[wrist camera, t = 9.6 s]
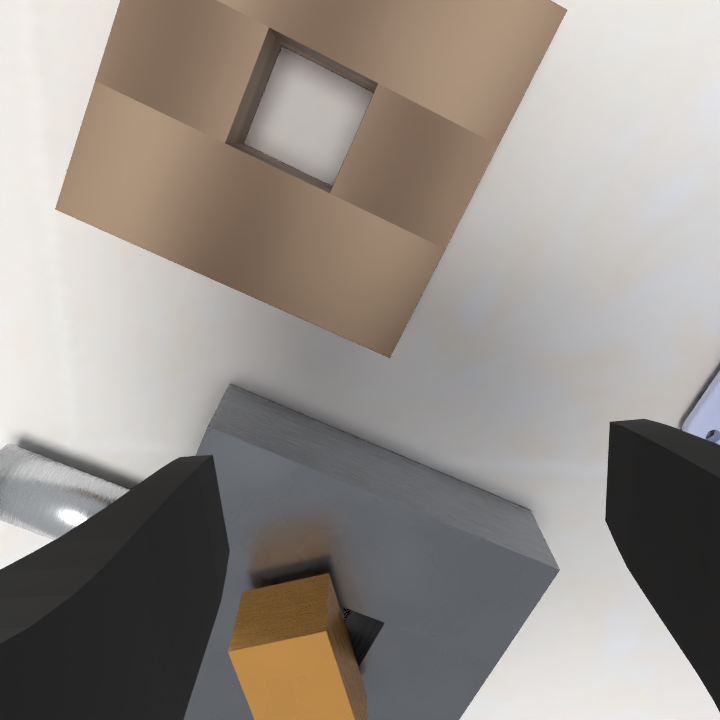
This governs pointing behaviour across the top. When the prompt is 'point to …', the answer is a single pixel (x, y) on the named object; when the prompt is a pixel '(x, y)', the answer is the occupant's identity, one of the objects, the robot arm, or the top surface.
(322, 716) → the orange wooden block
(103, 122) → the holder
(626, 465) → the robot arm
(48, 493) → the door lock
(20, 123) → the top surface
